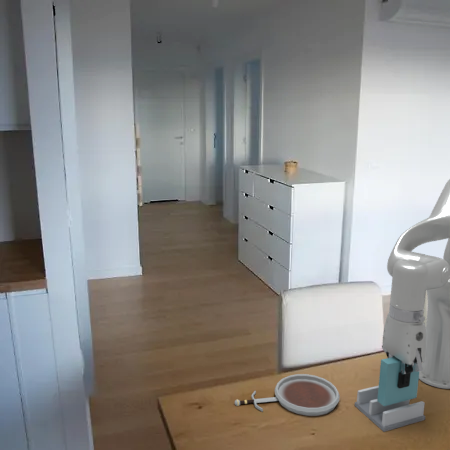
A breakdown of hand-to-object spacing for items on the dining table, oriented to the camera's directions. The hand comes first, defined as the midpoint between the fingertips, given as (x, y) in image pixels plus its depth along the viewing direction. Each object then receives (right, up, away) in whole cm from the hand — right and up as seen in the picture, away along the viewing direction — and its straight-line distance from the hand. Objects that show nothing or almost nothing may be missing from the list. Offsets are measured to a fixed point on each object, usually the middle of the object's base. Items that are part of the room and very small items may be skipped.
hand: (398, 382), depth 115 cm
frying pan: (-26, -8, +10) cm, 29 cm away
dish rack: (-1, -9, +4) cm, 10 cm away
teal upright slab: (0, -4, +1) cm, 4 cm away
